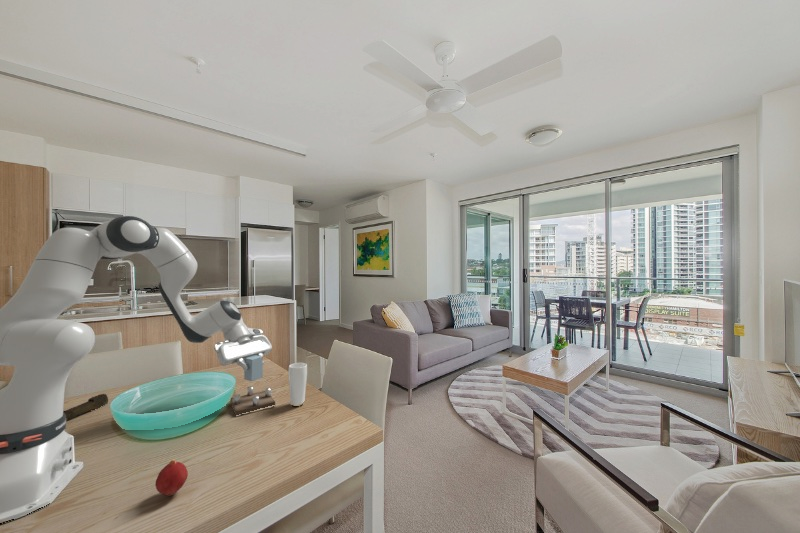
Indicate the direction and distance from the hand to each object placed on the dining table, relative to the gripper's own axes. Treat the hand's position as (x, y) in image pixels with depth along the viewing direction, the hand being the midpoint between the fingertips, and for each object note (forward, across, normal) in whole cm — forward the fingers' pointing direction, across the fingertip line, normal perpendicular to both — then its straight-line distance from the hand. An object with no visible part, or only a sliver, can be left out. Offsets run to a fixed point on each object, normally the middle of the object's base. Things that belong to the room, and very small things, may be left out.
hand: (254, 367), depth 114 cm
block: (+3, 0, +4) cm, 4 cm away
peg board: (+10, 0, +11) cm, 15 cm away
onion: (+28, -38, -7) cm, 48 cm away
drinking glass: (+20, +9, +1) cm, 22 cm away
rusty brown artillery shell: (-22, -36, +43) cm, 60 cm away
